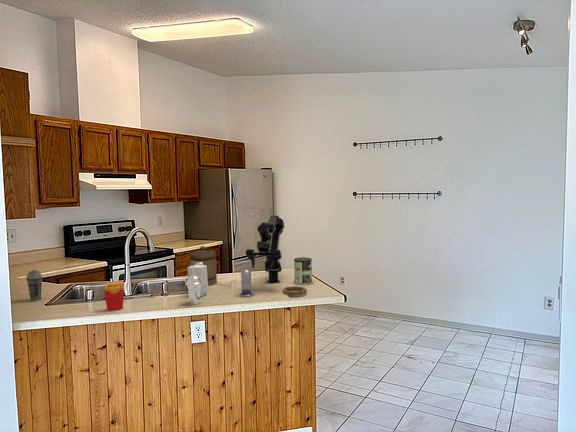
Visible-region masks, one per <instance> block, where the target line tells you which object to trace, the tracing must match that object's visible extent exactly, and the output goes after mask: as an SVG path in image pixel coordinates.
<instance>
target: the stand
mask: <svg viewBox="0 0 576 432" xmlns="http://www.w3.org/2000/svg"><path fill="white" fill-rule="evenodd" d="M252 293H253V296H249V297H244V299H245V298H246V299H247V298H249V299H251V298H253V297H255V296H256V295H258V294H259V293H257V292H252ZM234 297H235V298H237V297H238V298H243V297H242V296H240V293H239V294H236V295H235V296H234Z"/></svg>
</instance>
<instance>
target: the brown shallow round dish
mask: <svg viewBox="0 0 576 432" xmlns="http://www.w3.org/2000/svg"><path fill="white" fill-rule="evenodd" d="M282 294H284V295H286V296H287V297H288V298H302V297H305V296H307V294H308V292H307V289H306V288H305V287H303V286H296V285H294V286H293V285H292V286H286V287H284V288H282Z"/></svg>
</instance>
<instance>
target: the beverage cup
mask: <svg viewBox="0 0 576 432" xmlns="http://www.w3.org/2000/svg"><path fill="white" fill-rule="evenodd" d="M32 268H33V270H31V271H29V272H27V275H26V279H25V280H26V283H27V287H28V293H29V298H30V299H29V300H30V302H38V301H37V300H39V301H41V300H42V285H43V284H42V282H43V276H42V273H41V272H40V271H39V270H36V269H35V262H34V261H32Z"/></svg>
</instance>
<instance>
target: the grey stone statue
mask: <svg viewBox="0 0 576 432" xmlns="http://www.w3.org/2000/svg"><path fill="white" fill-rule="evenodd" d="M203 263H204V262H201V263H198V264H195V265H193V275H192V276H190V277H189V278H188V277H187V280H186V281H185V285H186V287H187V291H188V297H189V304H190V303H191V304H190V305H198V304H200V299H201V297H200V291H201V284H203V281H201V279H200V277H199V276H196V275H195V274H194V266H196V265H199V264H203Z"/></svg>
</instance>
